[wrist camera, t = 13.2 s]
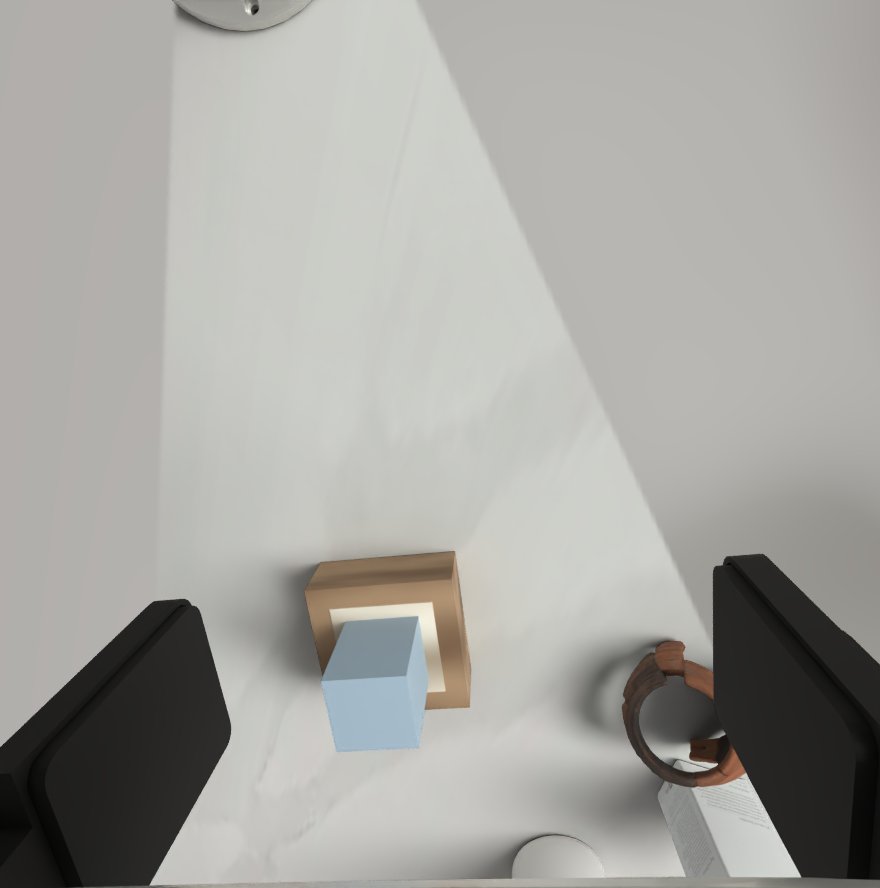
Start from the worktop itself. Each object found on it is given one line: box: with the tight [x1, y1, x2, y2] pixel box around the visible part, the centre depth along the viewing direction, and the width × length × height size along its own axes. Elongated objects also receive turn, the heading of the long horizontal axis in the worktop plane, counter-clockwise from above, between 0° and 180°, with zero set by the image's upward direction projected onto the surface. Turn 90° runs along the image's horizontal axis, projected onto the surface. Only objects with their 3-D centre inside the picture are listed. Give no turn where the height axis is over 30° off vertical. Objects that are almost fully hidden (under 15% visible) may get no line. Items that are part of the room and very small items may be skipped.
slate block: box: [321, 616, 429, 752], centre depth 36 cm, size 5×5×6 cm
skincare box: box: [658, 760, 801, 877], centre depth 39 cm, size 6×4×12 cm
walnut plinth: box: [304, 551, 471, 710], centre depth 41 cm, size 10×10×4 cm
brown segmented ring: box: [622, 641, 746, 788], centre depth 40 cm, size 12×10×8 cm
